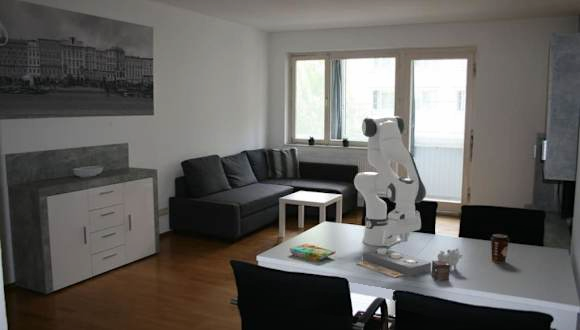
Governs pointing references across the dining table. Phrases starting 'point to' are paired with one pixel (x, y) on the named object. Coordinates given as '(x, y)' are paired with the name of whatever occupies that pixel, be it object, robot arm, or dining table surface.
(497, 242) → the coffee cup
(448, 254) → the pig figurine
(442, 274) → the box
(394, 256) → the button
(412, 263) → the button
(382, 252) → the button
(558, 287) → the dining table surface
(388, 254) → the console
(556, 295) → the dining table surface
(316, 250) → the puzzle game
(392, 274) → the pattern card
